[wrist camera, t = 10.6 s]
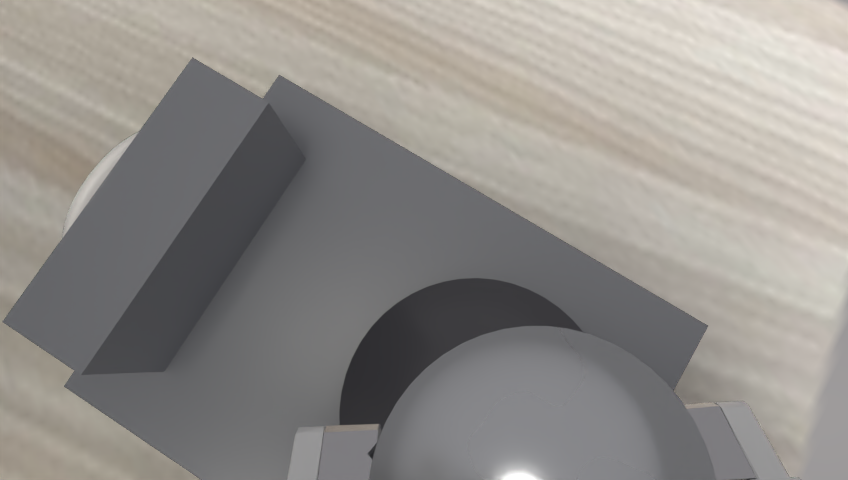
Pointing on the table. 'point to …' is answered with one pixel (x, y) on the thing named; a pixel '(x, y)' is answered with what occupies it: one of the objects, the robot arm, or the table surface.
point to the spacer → (540, 415)
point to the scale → (295, 278)
